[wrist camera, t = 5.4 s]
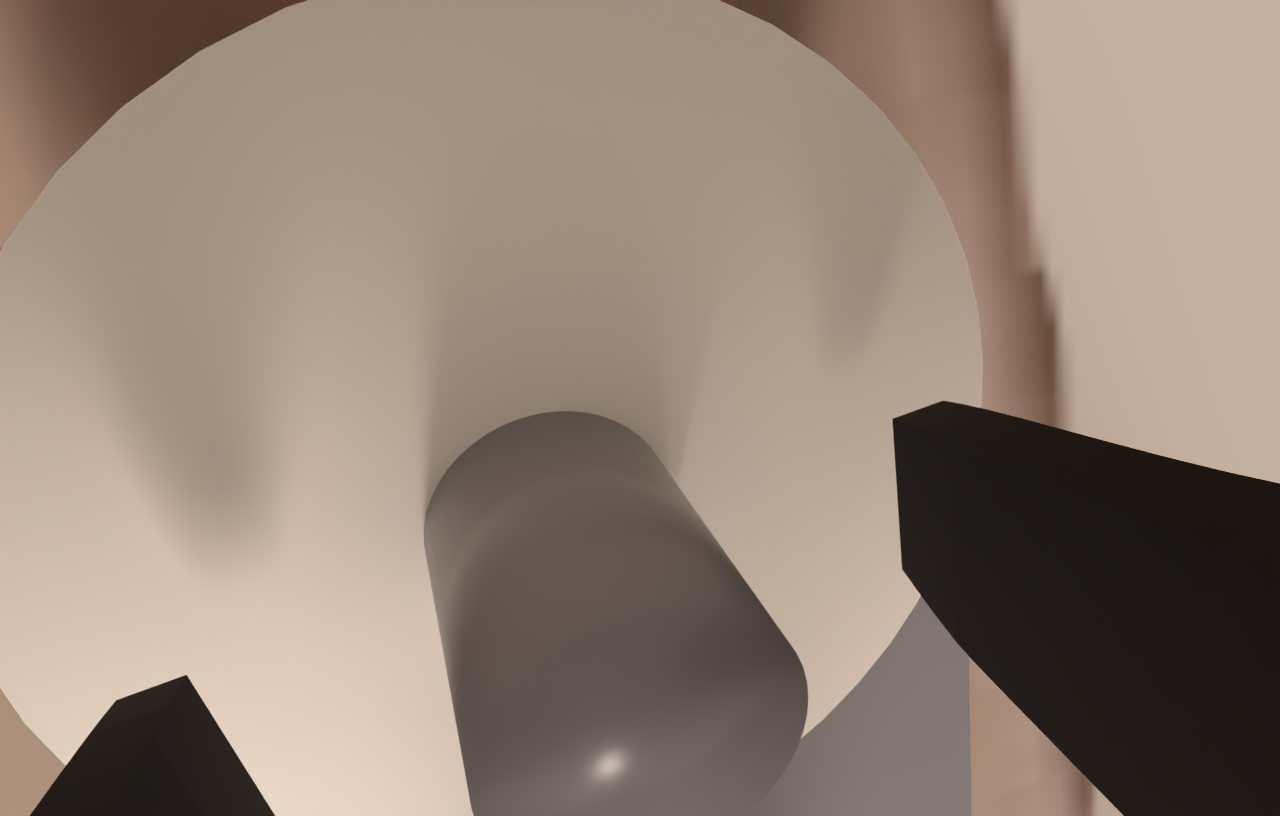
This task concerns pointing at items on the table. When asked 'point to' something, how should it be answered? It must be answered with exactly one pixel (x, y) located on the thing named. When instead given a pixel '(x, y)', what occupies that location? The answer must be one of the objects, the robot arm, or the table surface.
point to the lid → (475, 404)
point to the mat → (889, 737)
